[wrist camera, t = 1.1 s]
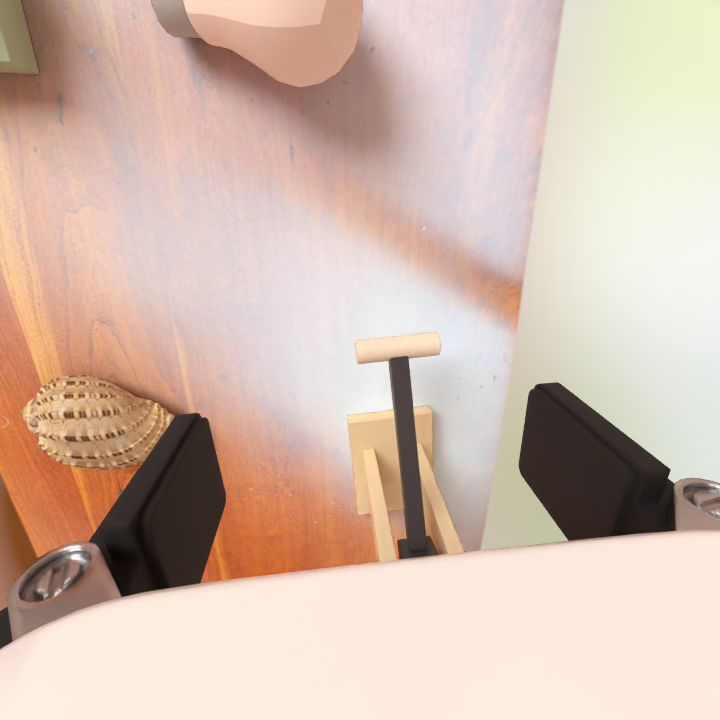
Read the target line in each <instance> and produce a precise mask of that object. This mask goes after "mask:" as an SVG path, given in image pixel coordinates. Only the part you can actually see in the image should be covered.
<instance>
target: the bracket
mask: <svg viewBox="0 0 720 720" xmlns="http://www.w3.org/2000/svg"><path fill="white" fill-rule="evenodd" d="M413 410H414V420H415V429H416V439H417V449H418V459H419V469H420V479H421V489H422V499H423V509H424V519H425V529H426V534H427V536H430V537H431V539H432V541H433V543H434V545H435V548H436V550H437V552H438V554H439V555H444V554H453V553H462V552H465V551H464V550H463V547H462V545H461V542H460V540H459V537H458V535H457V532H456V530H455V527H454V525H453V522H452V520H451V517H450V515H449V512H448V510H447V507H446V505H445V502H444V499H443V497H442V494H441V492H440V489H439V487H438V484H437V482H436V479H435V477H434V474H433V420H432V411H431V409H430V407H429V406H424V407H415V408H413ZM347 422H348V431H349V440H350V449H351V457H352V466H353V475H354V484H355V493H356V502H357V511H358V515H363V514H370V517H371V523H372V530H373V537H374V543H375V550H376V557H377V562H383V561H391V560H397V557H396V552H395V547H394V542H393V537H392V532H391V528H390V523H389V518H388V513H387V511H393V510H401V509H404V505H403V496H402V486H401V476H400V467H399V457H398V447H397V438H396V428H395V419H394V410H390V411H382V412H373V413H365V414H357V415H348V416H347ZM372 563H374V562H372Z"/></svg>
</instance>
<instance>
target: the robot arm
mask: <svg viewBox="0 0 720 720" xmlns="http://www.w3.org/2000/svg"><path fill="white" fill-rule="evenodd" d="M519 469H520V473H521V475H522V477H523V478H524V479H525V481H526V482H527V484H528V485H529V486H530V488H531V489H532V490H533V492H534V493H535V495H536V496H537V497H538V499H539V500H540V501H541V503H542V504H543V506H544V507H545V508H546V510H547V511H548V513H549V514H550V516H551V517H552V518H553V520H554V521H555V522H556V524H557V525H558V527H559V528H560V529H561V531H562V532H563V533H564V535H565V536H566V538H567V539H568V541H564V542H554V543H545V544H536V545H527V546H518V547H508V548H499V549H489V550H480V551H471V552H462V553H453V554H444V555H435V556H426V557H418V558H409V559H400V560H391V561H383V562H374V563H365V564H357V565H348V566H340V567H331V568H323V569H315V570H306V571H298V572H289V573H281V574H273V575H264V576H256V577H248V578H239V579H231V580H223V581H215V582H207V583H200V582H201V579H202V576H203V573H204V569H205V566H206V563H207V560H208V557H209V554H210V551H211V548H212V545H213V541H214V538H215V535H216V532H217V529H218V526H219V523H220V520H221V516H222V513H223V510H224V507H225V502H226V493H225V489H224V484H223V480H222V476H221V472H220V468H219V463H218V459H217V455H216V451H215V447H214V442H213V438H212V434H211V430H210V426H209V422H208V419H207V418H201V416H200V414H199V413H193V414H181V415H176V416H175V417H174V419H173V420H172V422H171V423H170V424H169V426H168V427H167V429H166V430H165V432H164V433H163V435H162V436H161V438H160V439H159V441H158V442H157V443H156V445H155V446H154V448H153V449H152V451H151V452H150V454H149V455H148V457H147V458H146V460H145V461H144V463H143V464H142V465H141V467H140V468H139V469H138V470H137V472H136V473H135V475H134V476H133V478H132V479H131V481H130V482H129V484H128V485H127V486H126V488H125V489H124V491H123V492H122V494H121V495H120V497H119V498H118V500H117V501H116V502H115V504H114V505H113V507H112V508H111V510H110V511H109V513H108V514H107V516H106V517H105V519H104V520H103V521H102V523H101V524H100V526H99V527H98V529H97V530H96V532H95V533H94V535H93V536H92V537H91V539H90V540H89V542H74V543H70V544H66V545H63V546H61V547H58V548H56V549H54V550H51V551H49V552H48V553H46V554H44V555H43V556H41V557H39V558H38V559H36V560H35V561H34V562H33V563H31V564H30V565H29V566H27V567H26V568H25V569H24V570H23V571H22V572H21V573H20V574H19V576H17V578H16V579H15V580H14V581H13V583H12V585H11V587H10V589H9V591H8V596H7V605H8V607H6V608H5V609H3V610H1V611H0V720H720V483H717V482H714V481H710V480H705V479H700V478H686V479H681V480H679V481H678V482H676V483H675V484H674V483H673V482H672V481H670V480H669V479H668V476H669V473H670V469H669V468H668V467H667V466H665V465H664V464H663V463H661V462H660V461H659V460H658V459H656V458H655V457H654V456H653V455H651V454H650V453H648V452H647V451H646V450H645V449H643V448H642V447H641V446H640V445H638V444H637V443H636V442H635V441H633V440H632V439H631V438H629V437H628V436H627V435H626V434H624V433H623V432H622V431H620V430H619V429H618V428H616V427H615V426H614V425H613V424H611V423H610V422H609V421H607V420H606V419H605V418H604V417H602V416H601V415H600V414H598V413H597V412H596V411H595V410H593V409H592V408H591V407H589V406H588V405H587V404H586V403H584V402H583V401H582V400H580V399H579V398H578V397H577V396H575V395H574V394H573V393H571V392H570V391H569V390H568V389H566V388H565V387H564V386H562V385H561V384H559V383H545V384H537V385H536V386H535V388H534V389H532V390H531V391H530V392H529V396H528V403H527V410H526V417H525V424H524V431H523V437H522V444H521V452H520V459H519Z"/></svg>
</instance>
